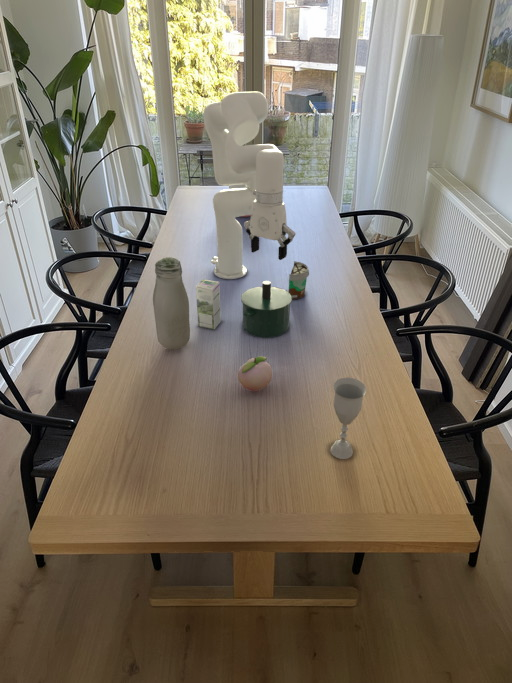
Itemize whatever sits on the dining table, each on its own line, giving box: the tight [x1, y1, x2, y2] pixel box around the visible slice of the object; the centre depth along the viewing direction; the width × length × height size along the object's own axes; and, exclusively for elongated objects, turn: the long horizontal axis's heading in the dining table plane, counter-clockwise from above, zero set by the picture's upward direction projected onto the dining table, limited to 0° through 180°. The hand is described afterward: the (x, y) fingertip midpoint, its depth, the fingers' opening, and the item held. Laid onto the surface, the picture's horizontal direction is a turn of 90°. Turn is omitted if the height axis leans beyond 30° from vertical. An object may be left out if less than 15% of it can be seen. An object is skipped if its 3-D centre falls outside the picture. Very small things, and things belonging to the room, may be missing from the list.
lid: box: [240, 280, 293, 311], centre depth 158 cm, size 16×16×6 cm
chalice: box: [330, 377, 367, 460], centre depth 112 cm, size 7×7×18 cm
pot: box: [242, 288, 291, 339], centre depth 162 cm, size 15×20×10 cm
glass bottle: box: [152, 256, 191, 351], centre depth 147 cm, size 10×10×28 cm
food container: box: [288, 260, 310, 301], centre depth 181 cm, size 12×6×10 cm, turn 168°
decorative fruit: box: [237, 355, 273, 392], centre depth 134 cm, size 9×8×10 cm
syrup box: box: [195, 279, 222, 330], centre depth 161 cm, size 6×6×14 cm
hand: (268, 254), depth 153 cm, fingers open, 9 cm apart
